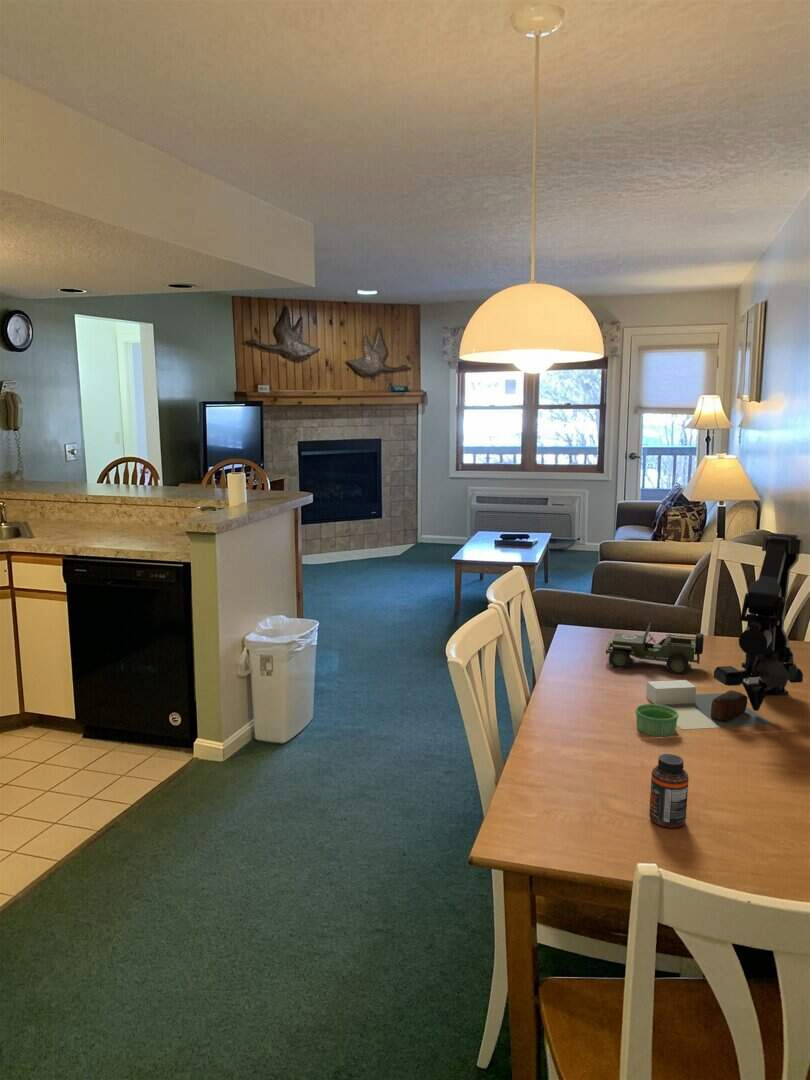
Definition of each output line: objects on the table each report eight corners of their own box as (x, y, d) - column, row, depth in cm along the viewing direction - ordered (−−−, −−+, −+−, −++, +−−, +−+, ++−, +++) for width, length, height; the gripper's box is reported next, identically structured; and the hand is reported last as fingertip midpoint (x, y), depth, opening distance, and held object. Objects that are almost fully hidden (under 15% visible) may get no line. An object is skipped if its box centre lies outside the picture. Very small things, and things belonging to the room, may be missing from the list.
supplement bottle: (643, 812, 136) (646, 751, 134) (676, 811, 136) (680, 750, 135) (657, 830, 130) (661, 766, 128) (691, 829, 130) (696, 765, 129)
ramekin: (680, 726, 173) (681, 708, 172) (673, 741, 165) (674, 722, 165) (639, 719, 177) (640, 701, 177) (630, 733, 169) (631, 714, 169)
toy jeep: (608, 654, 225) (610, 617, 223) (701, 664, 216) (703, 626, 214) (603, 667, 213) (605, 628, 212) (701, 678, 205) (704, 638, 203)
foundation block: (685, 695, 191) (686, 680, 191) (695, 703, 186) (696, 687, 186) (646, 697, 190) (647, 681, 189) (655, 704, 185) (656, 688, 185)
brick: (727, 723, 174) (728, 703, 173) (709, 718, 177) (711, 699, 176) (747, 711, 181) (748, 692, 180) (730, 706, 184) (731, 688, 183)
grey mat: (726, 693, 193) (726, 692, 193) (773, 725, 174) (773, 724, 174) (643, 697, 191) (643, 696, 190) (681, 730, 171) (681, 729, 171)
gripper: (741, 656, 167) (736, 726, 170) (821, 653, 170) (816, 721, 172) (714, 642, 178) (710, 707, 181) (790, 639, 181) (785, 703, 183)
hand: (755, 710), depth 179 cm, fingers closed
